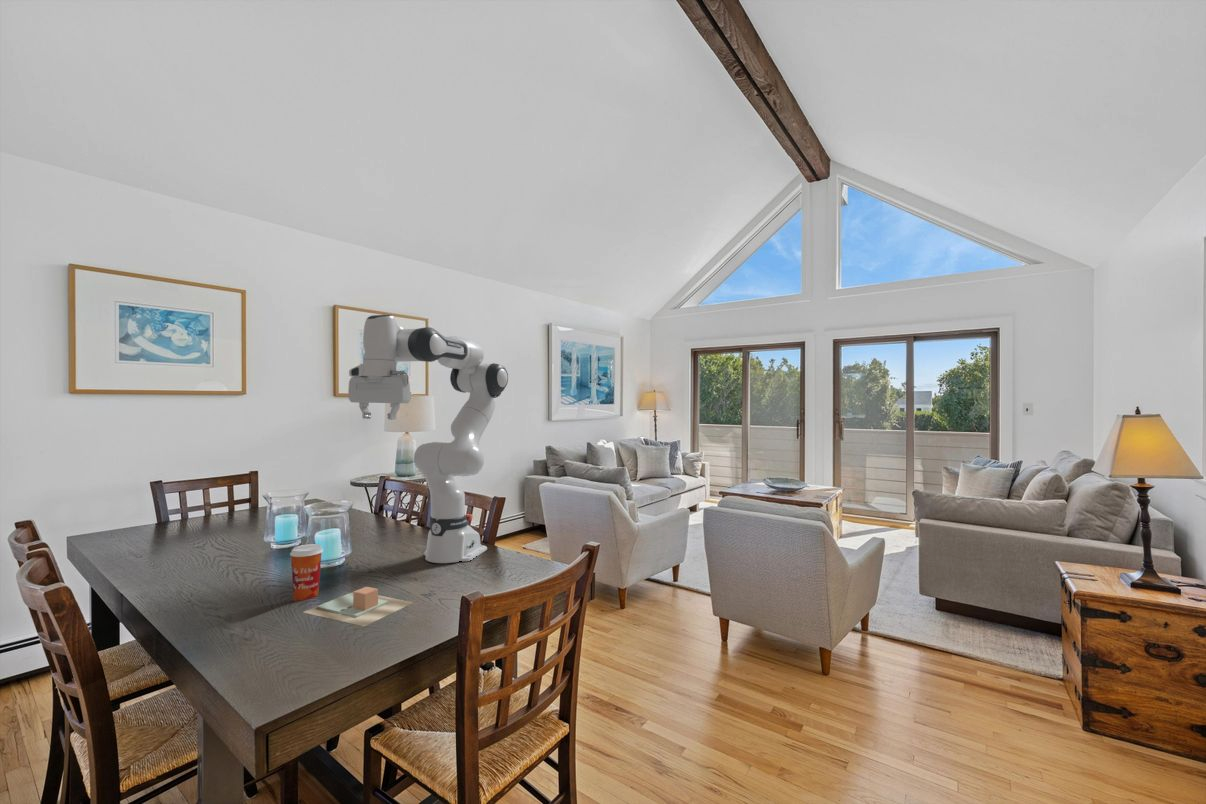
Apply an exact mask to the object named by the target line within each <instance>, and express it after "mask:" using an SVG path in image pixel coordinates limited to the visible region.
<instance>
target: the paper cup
mask: <svg viewBox="0 0 1206 804" xmlns="http://www.w3.org/2000/svg"><path fill="white" fill-rule="evenodd" d="M323 552H324V549H323V548H322V546H321V545H320V544H318V543H315V544H314V543H308V544H301V545H298V546H294V547H293V548H292V549H291V552H290V553H289V555H290V559H291V560H290V561H291V575H292V576H291V577H292V579H291V580H292V594H293V602H297V601H301V600H309V599H313V598H316V597H317V596H318V595H319V591H320V589H319V588H320V580H321V568H322V567H321V565H322V553H323Z"/></svg>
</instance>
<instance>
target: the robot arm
mask: <svg viewBox="0 0 1206 804" xmlns="http://www.w3.org/2000/svg"><path fill="white" fill-rule="evenodd" d="M362 337H363V339H362V340H363V341H362V345H363V348H364V354H363V357H362V363H359V365H357V366H354V367H351V369H349V371H348V373H349V374H348V375H349V377H350V378H349V381H348V390H347V391H348V392H347V393H348V400H349V401H350V402H351V403H358V407H359V409H360V412H361V413H362V419H363V420H370V419H372V413H371V412H370V411H369V409H368V407H369V404H374V403H375V404H390V405H389V406H390V408H391V410H390V412H389V413H387V419H388V420H390V421H391V420H392V421H394V420H396V419H397V414H398V411H399V410H400V407H401V404H409V403H410V402H411V400H412V399H411V397H412V395H411V393H412V392H411V386H410V381H409V379H410V378H409V375H408V373H407V372H405V370H397V362H426V363H427V362H430V363H432V362H435V361H437V362H438V363H439V365H440V366H444V367H445V368H448V369H449V368H450V369H451V372H450V378H449V380H450V384H451V386H452V388H453V389H454V390H455V391H457V392H459V393H463V394H464V393H469V397H468V400H467V401H465V403H464V404H463V406H462V407H461V408H460V410H459V412H458V413H457V415H456V417H454V419H453V421H452V422H451V424H450V432H451V435H452V436H453V438H454V439H453V440H452V441H450V442H439V441H432V442H426V443H422V444H420V445H419V446H417V448H416V450H415V451H414V454H413V463H414V465H415V467H416V468H417V470H418V471H419V472H420V473H421V474H422V475H423V477H424V479H425V481H426V483H427V486H428V489H429V494H430V516H429V520H428V524H429V528H430V529H429V531H428V534H427V542H426V548H425V549H426V550H425V551H424V553H423V555H424V557H425V558H424V559H425V561H426V562H429V563H435V564H450V563H451V564H452V563H458V562H459V561H462V562H469V561H470V560H471V561H472V560H474V559H475V558H477V557H478V556H480V555H482V554H483V553H484V552H486V551H487V550H488V547H487V546H486V545H484V544H481V536H480V533H479V532H478V531H476V530H475V529H474V528H473V527H471V526H470V525H469V522H468V521H472V520H473V514H471V513H470V514H469V513H467V514H465V512H466V507H465V506H466V494H465V491H464V490H463V489H462V488H461V487H460V486H459V485H458V484H457V482H456V480H455V479H454V477H469V476H475V475H477V474H479V473H480V471H481V470H482V469H483V466H484V463H485V456H484V453H483V450H482V449H481V448H480V446H479V445H480V444H479V443H480V441H481V437H482V435H483V433H484V432H485V430H486V428H487V427H488V425H489V423H490V421H491V418H492V417H493V414H494V411H495V407H496V401H495V398H498V397H500V396H501V394H502V392H504V390H505V388H506V387H507V385H508V382H509V373H508V371H507V369H506V367H505V366H504V365H501V364H499V363H487V362H485V363H484V362H483V360H484V354H485V353H484V349H483V347H482V346H481V345H480V344H478V343H477V342H475V341H473V340H471V339H469V338H465V337H461V336H460V337H459V336H444V335H442V334H441V333H440V332H439V331H438V330H436V329H434V328H433V327H429V326H425V327H420V328H404V327H403V326H401V325H400V324H399V323H398V322H397V321H396V317H395V316H394V315H392V314H374V315H370V316H368V317H367V318H366V319H365V322H364V326H363V336H362ZM476 556H477V557H476ZM473 558H474V559H473ZM459 563H460V562H459Z"/></svg>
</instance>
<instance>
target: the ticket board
mask: <svg viewBox="0 0 1206 804" xmlns="http://www.w3.org/2000/svg"><path fill="white" fill-rule="evenodd" d="M353 592H354V591H351V592H349V593H347V594H343V595H342V596H339V597H336V598H334V599H331V600H329V601H327V602H323V603H321V604H319V605H317V606H314V607H312V608H310V609H307V610H305V611H303V613H304V614H309V615H313V616H317V617H320V618H321V617H322V618H324V619H325V618H326V619H329V620H333V621H338V622H342V623H345V624H349V625H354V626H359V627H367V626H368V625H371V624H373V623H375V622H378V621H379V620H381V619H383V618H385V617H387V616H389V615H392V614H393V613H395V612H397V611H400V610H402V609H403V608H405V607H407V606H410V605H411V604H413V603H414V602H413V601H409V600H403V599H398V598H394V597H389V596H388V597H387V596H384V595H379V594H378V599H382V600H386V601H388V603H387V604H385V605H383V606H381V607H378V608H376V609H374V610H372V611H370V612H368V613H365V614H363V615H361V616H359V617H353V616H348V615H344V614H342V611H345V610H347V609H349V608H352V607H353Z"/></svg>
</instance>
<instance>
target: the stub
mask: <svg viewBox="0 0 1206 804" xmlns="http://www.w3.org/2000/svg"><path fill="white" fill-rule="evenodd" d="M352 592H353V607H352V608H349V609H347V610H345V611H342V614H344V615H348V616H353V617H359V616H361V615H363V614H365V613H368V612H370V611H372V610H374V609H376V608H378V607H381V606H383V605H385V604H387V603H388V601H386V600H382V599H378V595H379V588H375V587H370V586H364V587H362V588H359V589H357V590H354V591H352Z"/></svg>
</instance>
